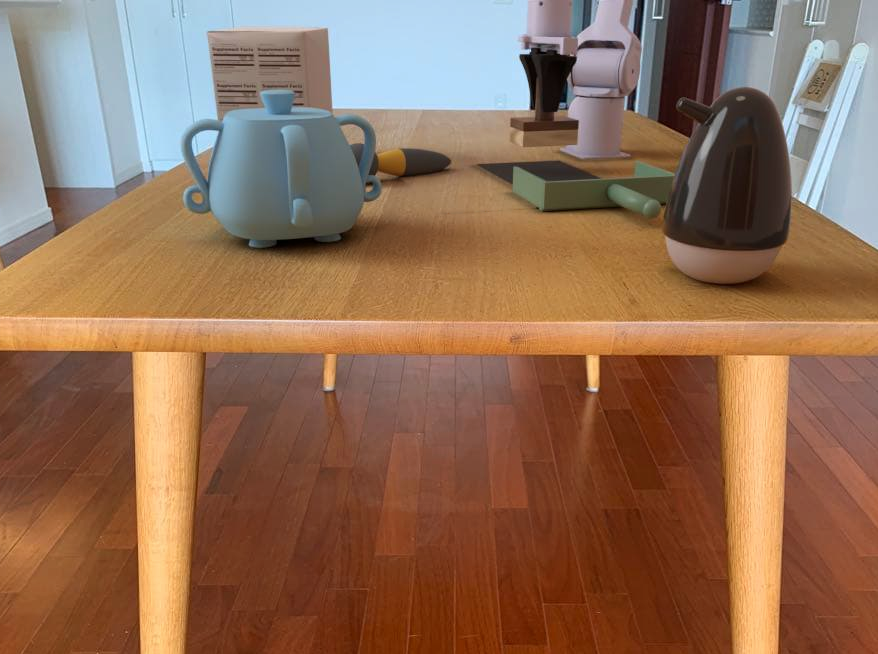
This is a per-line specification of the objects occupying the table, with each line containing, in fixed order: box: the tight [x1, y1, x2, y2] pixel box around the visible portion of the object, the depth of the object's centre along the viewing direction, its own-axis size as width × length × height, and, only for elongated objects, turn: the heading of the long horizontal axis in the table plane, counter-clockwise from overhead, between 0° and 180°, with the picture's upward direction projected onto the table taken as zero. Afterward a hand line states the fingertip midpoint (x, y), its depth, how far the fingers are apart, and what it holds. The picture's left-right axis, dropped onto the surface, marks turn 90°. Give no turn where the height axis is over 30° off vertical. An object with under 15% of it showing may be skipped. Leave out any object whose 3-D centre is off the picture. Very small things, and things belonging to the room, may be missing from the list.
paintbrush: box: [349, 142, 452, 177], centre depth 108 cm, size 20×5×5 cm, turn 134°
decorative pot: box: [180, 90, 383, 249], centre depth 79 cm, size 16×16×14 cm
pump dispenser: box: [661, 86, 793, 285], centre depth 66 cm, size 10×10×15 cm
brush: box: [509, 77, 579, 148], centre depth 109 cm, size 5×8×8 cm, turn 107°
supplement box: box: [206, 26, 334, 122], centre depth 116 cm, size 17×13×18 cm
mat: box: [476, 160, 602, 186], centre depth 112 cm, size 18×13×1 cm
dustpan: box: [512, 160, 676, 220], centre depth 93 cm, size 20×17×3 cm
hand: (544, 110), depth 109 cm, fingers closed on brush, 2 cm apart
